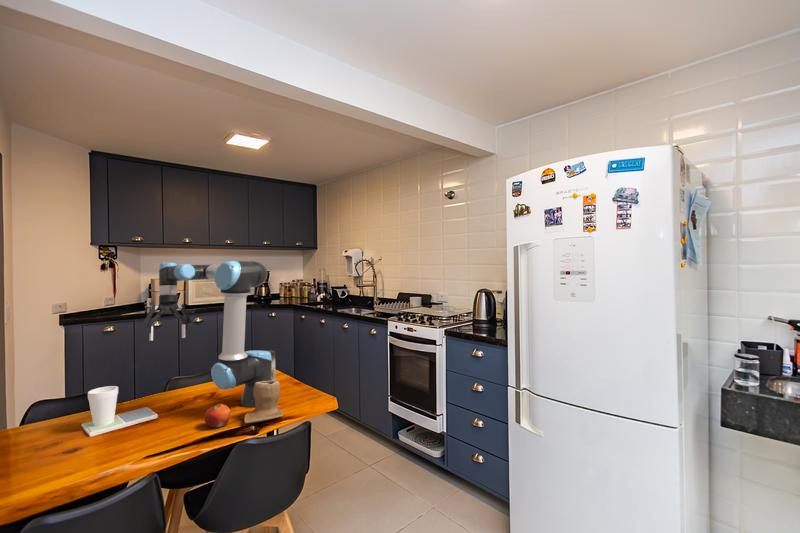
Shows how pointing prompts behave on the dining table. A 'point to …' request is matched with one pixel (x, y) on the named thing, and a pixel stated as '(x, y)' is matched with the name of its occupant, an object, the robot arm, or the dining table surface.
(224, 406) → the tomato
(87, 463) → the dining table surface
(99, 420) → the foam cup
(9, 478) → the dining table surface
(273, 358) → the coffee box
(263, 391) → the stone cup
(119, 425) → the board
